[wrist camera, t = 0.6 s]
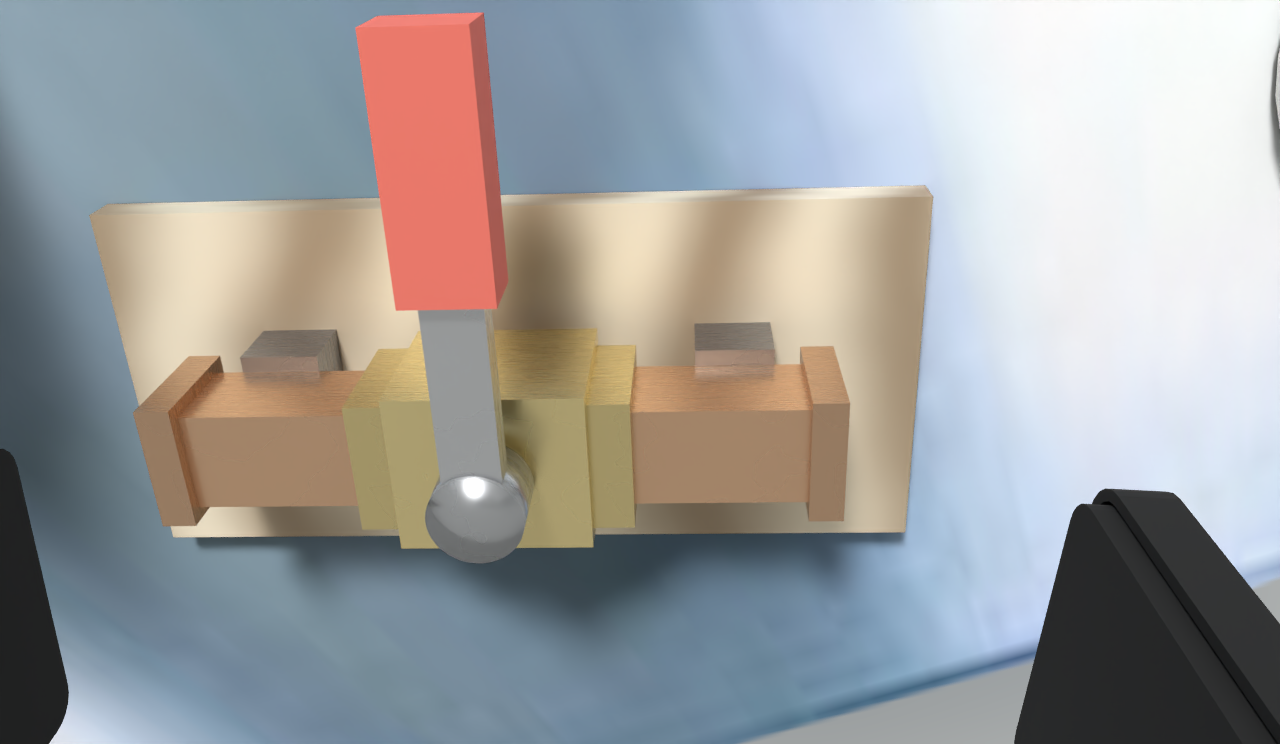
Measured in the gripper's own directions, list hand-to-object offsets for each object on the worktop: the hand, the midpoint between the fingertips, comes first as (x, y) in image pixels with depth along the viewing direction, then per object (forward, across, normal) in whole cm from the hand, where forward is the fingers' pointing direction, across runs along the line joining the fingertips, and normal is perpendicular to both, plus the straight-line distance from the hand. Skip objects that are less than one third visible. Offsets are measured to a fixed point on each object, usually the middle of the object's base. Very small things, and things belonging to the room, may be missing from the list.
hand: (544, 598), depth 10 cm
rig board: (+25, +3, +10) cm, 27 cm away
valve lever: (+18, +4, +4) cm, 19 cm away
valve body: (+24, +3, +10) cm, 26 cm away
